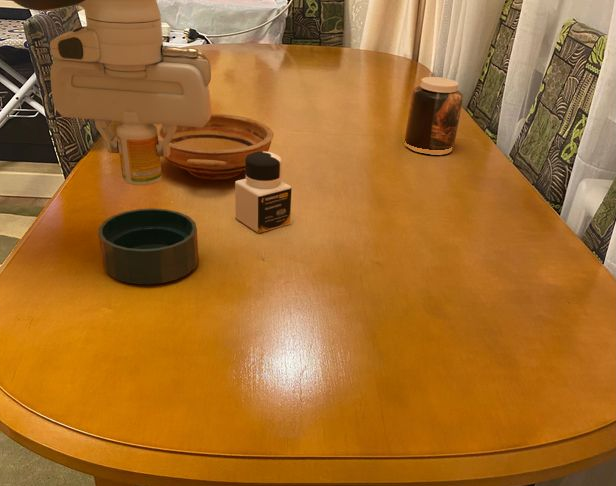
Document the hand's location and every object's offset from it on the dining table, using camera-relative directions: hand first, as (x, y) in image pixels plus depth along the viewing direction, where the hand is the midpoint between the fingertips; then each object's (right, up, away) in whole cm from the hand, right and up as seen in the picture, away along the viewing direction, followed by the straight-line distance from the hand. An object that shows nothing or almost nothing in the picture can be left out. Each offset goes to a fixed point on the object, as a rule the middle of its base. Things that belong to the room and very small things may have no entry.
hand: (139, 153), depth 83 cm
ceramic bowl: (+4, +11, +43) cm, 45 cm away
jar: (+52, +22, +62) cm, 84 cm away
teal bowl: (-1, -14, +10) cm, 17 cm away
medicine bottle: (+15, -4, +25) cm, 29 cm away
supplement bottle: (0, -3, +2) cm, 4 cm away
